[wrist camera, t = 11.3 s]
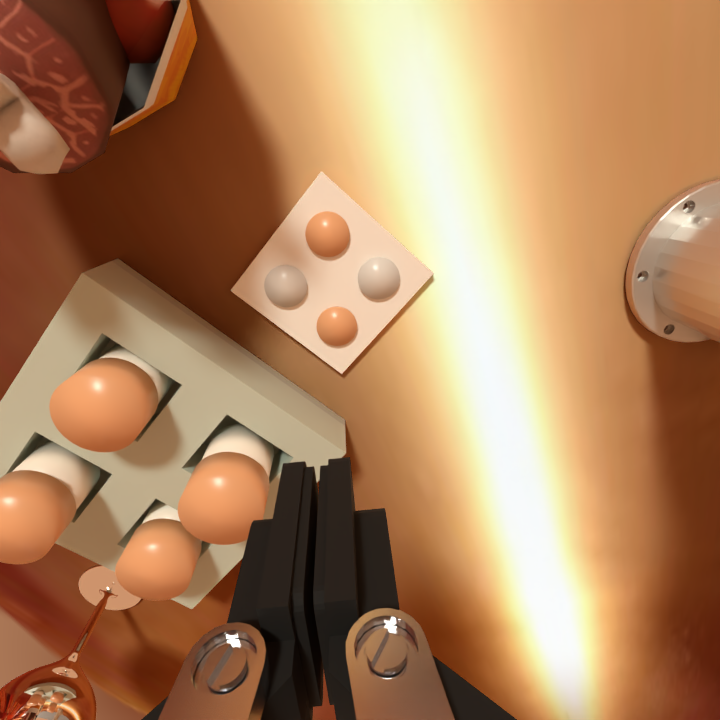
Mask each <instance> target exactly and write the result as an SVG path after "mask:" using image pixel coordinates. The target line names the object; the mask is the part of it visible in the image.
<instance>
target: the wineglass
mask: <svg viewBox="0 0 720 720" xmlns="http://www.w3.org/2000/svg"><path fill="white" fill-rule="evenodd" d="M79 590H80V592H81V594H82V595H83V597H84V598H85V599H86V600H87V601H89V602H90V603H92V604H93V605H95V606H96V608H95V610H94V612H93V613H92V615H91V617H90V619H89V621H88V623H87V624H86V626H85V628H84V630H83V632H82V633H81V635H80V637H79V639H78V641H77V642H76V644H75V646H74V648H73V650H72V651H71V653H70V654H69V655H68V656H66V657H65V658H63V659H61V660H59V661H57V662H54V663H52V664H48V665H45V666H42V667H39V668H35V669H33V670H31V671H28V672H26V673H23V674H22V675H20V676H18V677H16V678H15V679H13V680H11V681H10V682H8V683H7V684H5V685H4V686H3V687H2V688H0V720H96V700H95V696H94V692H93V689H92V687H91V685H90V683H89V681H88V679H87V677H86V676H85V674H84V673H83V671H82V669H81V666H80V654H81V652H82V650H83V648H84V646H85V644H86V643H87V641H88V639H89V637H90V635H91V633H92V631H93V629H94V627H95V625H96V624H97V622H98V620H99V618H100V616H101V614H102V613H103V611H104V609H108V610H123V609H127V608H130V607H132V606H134V605H136V604H137V603H138V602H139V601H140V600H141V598H139V597H137V596H134V595H133V594H131V593H129V592H128V591H126V590H125V589H124V588H123V587H122V586H121V585H120V583H119V582H118V580H117V578H116V574H115V572H114V571H112V570H110V569H108V568H106V567H104V566H102V565H97V566H94V567H91V568H89V569H88V570H86V571H85V572H84V573H83V574H82V576H81V577H80V580H79Z"/></svg>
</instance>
